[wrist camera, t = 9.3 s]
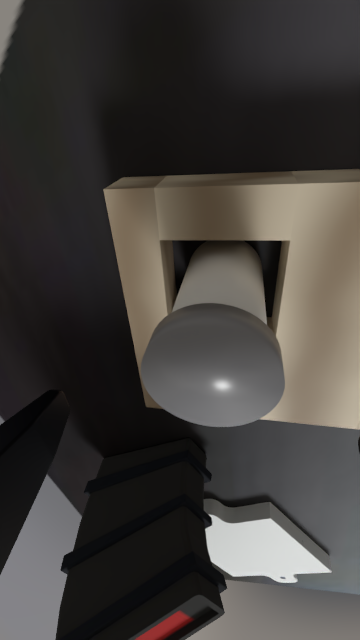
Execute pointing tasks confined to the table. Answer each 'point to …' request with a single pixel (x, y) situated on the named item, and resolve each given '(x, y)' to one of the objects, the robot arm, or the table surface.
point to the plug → (216, 342)
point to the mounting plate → (261, 543)
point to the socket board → (292, 279)
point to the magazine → (143, 550)
